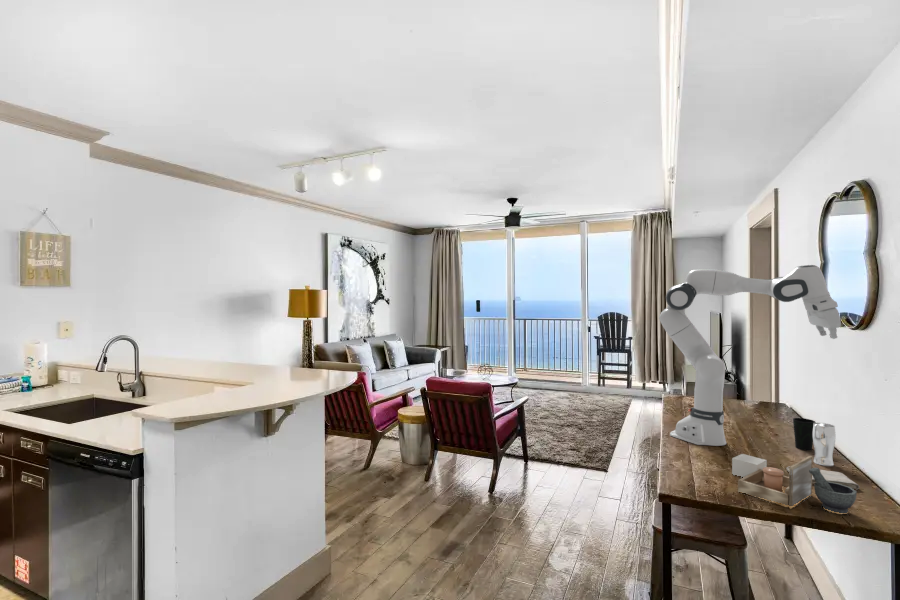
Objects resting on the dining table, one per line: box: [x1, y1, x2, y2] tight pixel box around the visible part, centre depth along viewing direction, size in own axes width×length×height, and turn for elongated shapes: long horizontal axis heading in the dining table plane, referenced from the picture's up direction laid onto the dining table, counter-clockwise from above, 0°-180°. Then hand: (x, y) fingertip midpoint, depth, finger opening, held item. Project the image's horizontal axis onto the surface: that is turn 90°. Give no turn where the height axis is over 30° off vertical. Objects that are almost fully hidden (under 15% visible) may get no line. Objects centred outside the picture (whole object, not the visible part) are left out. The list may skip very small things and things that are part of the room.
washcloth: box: [785, 465, 861, 491], centre depth 163 cm, size 12×18×3 cm, turn 71°
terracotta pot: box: [763, 466, 785, 492], centre depth 151 cm, size 6×6×7 cm
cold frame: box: [737, 455, 813, 506], centre depth 151 cm, size 15×17×13 cm
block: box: [731, 453, 768, 478], centre depth 166 cm, size 8×8×6 cm
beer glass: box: [812, 422, 837, 467], centre depth 179 cm, size 7×7×15 cm
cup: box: [792, 417, 817, 452], centre depth 196 cm, size 8×8×12 cm
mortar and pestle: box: [809, 467, 858, 513], centre depth 140 cm, size 11×9×12 cm
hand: (828, 336), depth 185 cm, fingers open, 8 cm apart
